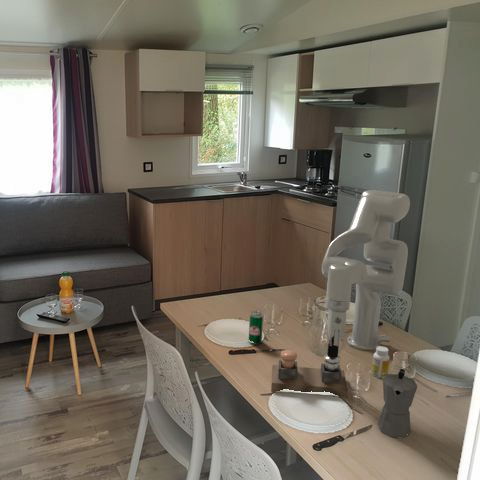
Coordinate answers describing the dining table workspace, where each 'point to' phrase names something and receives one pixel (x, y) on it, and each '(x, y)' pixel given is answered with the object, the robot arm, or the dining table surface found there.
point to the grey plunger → (331, 363)
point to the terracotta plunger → (288, 359)
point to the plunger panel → (309, 379)
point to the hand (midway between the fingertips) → (332, 356)
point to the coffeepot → (397, 404)
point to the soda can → (256, 327)
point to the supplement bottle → (380, 362)
